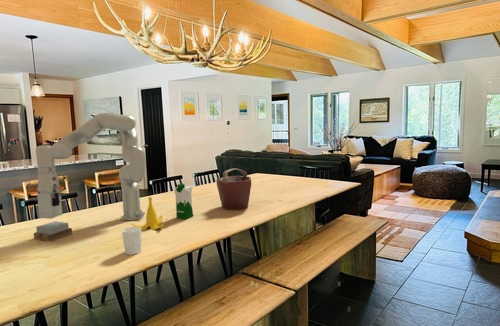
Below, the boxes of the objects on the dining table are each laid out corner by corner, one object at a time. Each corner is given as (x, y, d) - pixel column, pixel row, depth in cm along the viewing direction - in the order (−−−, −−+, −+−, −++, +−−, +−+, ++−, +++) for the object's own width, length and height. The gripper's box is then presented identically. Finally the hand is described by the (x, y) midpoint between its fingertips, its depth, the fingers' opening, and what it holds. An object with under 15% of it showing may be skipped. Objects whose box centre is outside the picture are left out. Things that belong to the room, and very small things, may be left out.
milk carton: (174, 218, 195) (172, 184, 193) (183, 214, 203) (181, 182, 201) (186, 220, 192) (184, 185, 189) (195, 215, 200) (193, 182, 197)
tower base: (72, 234, 173) (71, 228, 172) (50, 241, 162) (49, 235, 162) (56, 231, 178) (56, 226, 177) (34, 238, 167) (33, 233, 166)
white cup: (126, 249, 149) (125, 227, 148) (144, 248, 150) (143, 226, 149) (121, 256, 141) (119, 233, 140) (140, 254, 142) (138, 232, 141)
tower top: (68, 228, 172) (68, 223, 171) (50, 234, 163) (49, 228, 162) (55, 226, 176) (55, 221, 176) (36, 232, 167) (36, 226, 167)
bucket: (230, 213, 202) (228, 172, 199) (209, 207, 219) (207, 169, 216) (260, 206, 218) (259, 168, 215) (238, 200, 235) (237, 165, 232)
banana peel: (162, 221, 192) (160, 192, 190) (164, 231, 173) (162, 199, 171) (132, 224, 187) (129, 195, 185) (130, 235, 169) (127, 202, 167)
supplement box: (51, 218, 164) (49, 193, 163) (39, 218, 166) (36, 193, 164) (63, 214, 171) (60, 190, 170) (50, 214, 173) (48, 190, 171)
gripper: (65, 170, 165) (68, 204, 168) (42, 168, 173) (46, 202, 175) (51, 172, 159) (54, 208, 161) (27, 170, 166) (31, 205, 168)
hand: (50, 204), depth 168 cm, fingers closed on supplement box, 8 cm apart
